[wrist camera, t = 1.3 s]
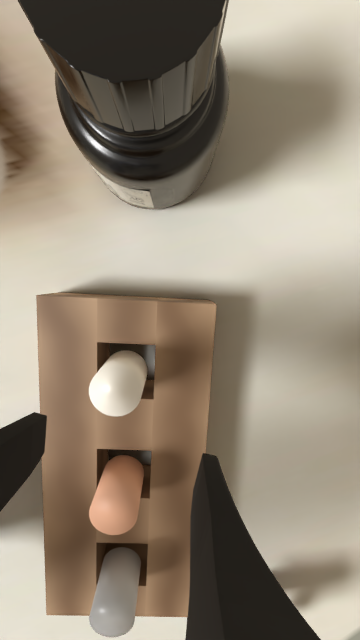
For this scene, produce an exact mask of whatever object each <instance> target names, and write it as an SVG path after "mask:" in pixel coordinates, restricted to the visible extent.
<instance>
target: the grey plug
mask: <svg viewBox="0 0 360 640" xmlns="http://www.w3.org/2000/svg"><path fill="white" fill-rule="evenodd" d="M140 567H141V560H140V557H139V555H138V554H137V553H136V552H135V551H133V550H132V549H129V548H125V547H119V548H115V549H112V550H110V551H109V552H108V553H107V554H106V555H105V557H104V560H103V564H102V568H101V572H100V576H99V580H98V584H97V588H96V592H95V596H94V600H93V604H92V608H91V612H90V616H89V622H90V625H91V627H92V628H93V630H94V631H95V632H97V633H98V634H100V635H102V636H106V637H118V636H121V635H124V634H126V633H127V632H128V631H129V630H130V629H131V628H132V627H133V624H134V620H135V611H136V602H137V593H138V585H139V576H140Z"/></svg>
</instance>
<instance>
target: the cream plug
mask: <svg viewBox="0 0 360 640" xmlns="http://www.w3.org/2000/svg"><path fill="white" fill-rule="evenodd" d="M147 373H148V369H147V365H146V362H145V361H144V359H143V358H142V357H141V356H140V355H139V354H137V353H135V352H133V351H129V350H122V351H118V352H116V353H114V354H113V355H111V356H110V357H109V359H108V360H107V361H106V362H105V364H104V365H103V366H102V367H101V368H100V370H99V371H98V372H97V373H96V375H95V376H94V377H93V379H92V380H91V383H90V386H89V396H90V400H91V402H92V404H93V405H94V406H95V408H96V409H97V410H99V411H100V412H102V413H103V414H106V415H108V416H123V415H126V414H128V413H130V412H132V411H133V410H134V409H135V408H136V407H137V406H138V404H139V402H140V400H141V396H142V392H143V389H144V385H145V381H146V378H147Z"/></svg>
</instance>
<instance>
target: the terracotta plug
mask: <svg viewBox="0 0 360 640" xmlns="http://www.w3.org/2000/svg"><path fill="white" fill-rule="evenodd" d="M143 478H144V469H143V466H142V464H141V463H140V462H139V461H138V460H137V459H136V458H134V457H132V456H128V455H119V456H116V457H113V458H112V459H110V460H109V461H108V462H107V464H106V465H105V468H104V471H103V473H102V476H101V479H100V482H99V484H98V487H97V490H96V493H95V495H94V498H93V501H92V504H91V506H90V510H89V518H90V521H91V523H92V525H93V526H94V527H95V528H96V529H97V530H99V531H100V532H102V533H105V534H108V535H120V534H123V533H125V532H127V531H129V530H130V529H131V528H132V527H133V526H134V525H135V523H136V521H137V518H138V511H139V504H140V498H141V491H142V485H143Z"/></svg>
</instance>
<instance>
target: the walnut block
mask: <svg viewBox="0 0 360 640" xmlns="http://www.w3.org/2000/svg"><path fill="white" fill-rule="evenodd" d="M36 298H37V330H38V361H39V392H40V414H43V415H47V424H46V438H45V453H44V454H43V456H42V487H43V518H44V550H45V581H46V613H47V615H81V616H90V612H91V608H92V604H93V600H94V596H95V592H96V588H97V584H98V580H99V576H100V572H101V568H102V564H103V560H104V557H105V555H106V554H107V553H108V552H109V551H110V550H112V549H115V548H119V547H125V548H129V549H132V550H133V551H135V552H136V553H137V554H138V555H139V557H140V560H141V567H140V576H139V585H138V593H137V602H136V611H135V616H154V617H188V605H189V590H190V515H191V505H192V496H193V488H194V484H195V481H196V477H197V473H198V469H199V465H200V461H201V457H202V454H203V453H205V454H206V441H207V428H208V414H209V401H210V387H211V374H212V360H213V347H214V333H215V320H216V306H217V304H215V303H214V302H212V301H210V300H199V299H180V298H160V297H140V296H120V295H101V294H81V293H61V292H59V293H51V294H43V295H36ZM110 343H125V344H147V345H156V350H155V375H154V380H146V381H145V385H144V389H143V392H142V396H141V400H140V402H139V404H138V406H137V407H136V408H135V409H134V410H133V411H132V412H130V413H128V414H126V415H123V416H108V415H106V414H103V413H102V412H100V411H99V410H97V409H96V408H95V406H94V405H93V404H92V402H91V400H90V396H89V386H90V383H91V380H92V379H93V377H94V376H95V375H96V373H97V372H98V371H99V370H100V368H101V367H102V366H103V365H104V364H105V362H106V361H107V360H108V359H109V349H110ZM108 449H119V450H149V451H152V452H151V465H142V466H143V469H144V478H143V485H142V491H141V498H140V504H139V511H138V518H137V521H136V523H135V525H134V526H133V527H132V528H131V529H130V530H129V531H127V532H125V533H123V534H120V535H108V534H105V533H102V532H100V531H99V530H97V529H96V528H95V527H94V526H93V525H92V523H91V521H90V518H89V510H90V506H91V504H92V501H93V498H94V495H95V493H96V490H97V487H98V484H99V482H100V479H101V476H102V473H103V471H104V468H105V465H106V464H107V462H108Z"/></svg>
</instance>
